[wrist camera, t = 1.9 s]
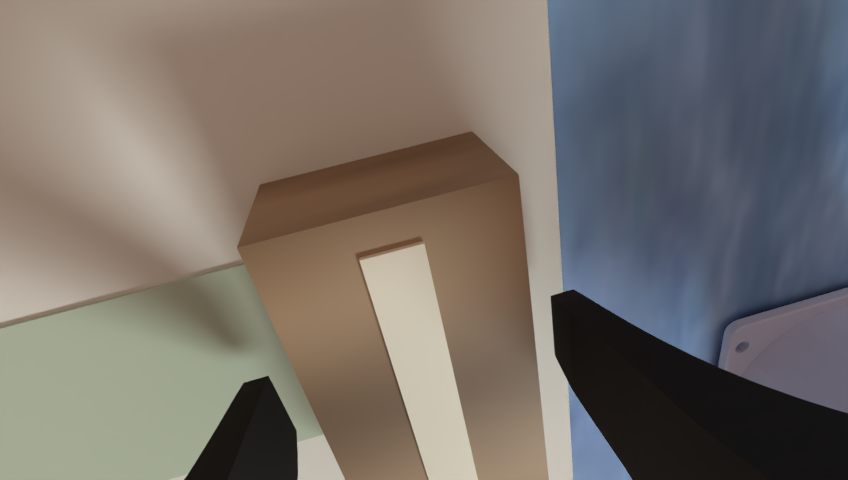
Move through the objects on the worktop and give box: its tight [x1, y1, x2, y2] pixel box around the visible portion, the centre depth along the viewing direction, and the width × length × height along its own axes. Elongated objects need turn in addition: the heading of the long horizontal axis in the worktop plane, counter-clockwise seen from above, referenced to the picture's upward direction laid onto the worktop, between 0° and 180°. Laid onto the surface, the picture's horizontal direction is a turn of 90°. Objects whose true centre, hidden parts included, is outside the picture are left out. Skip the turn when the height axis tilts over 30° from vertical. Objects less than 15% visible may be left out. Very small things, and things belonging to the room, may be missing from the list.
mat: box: [0, 0, 573, 480], centre depth 13 cm, size 20×20×1 cm
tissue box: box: [237, 131, 549, 480], centre depth 12 cm, size 10×5×3 cm, turn 11°
